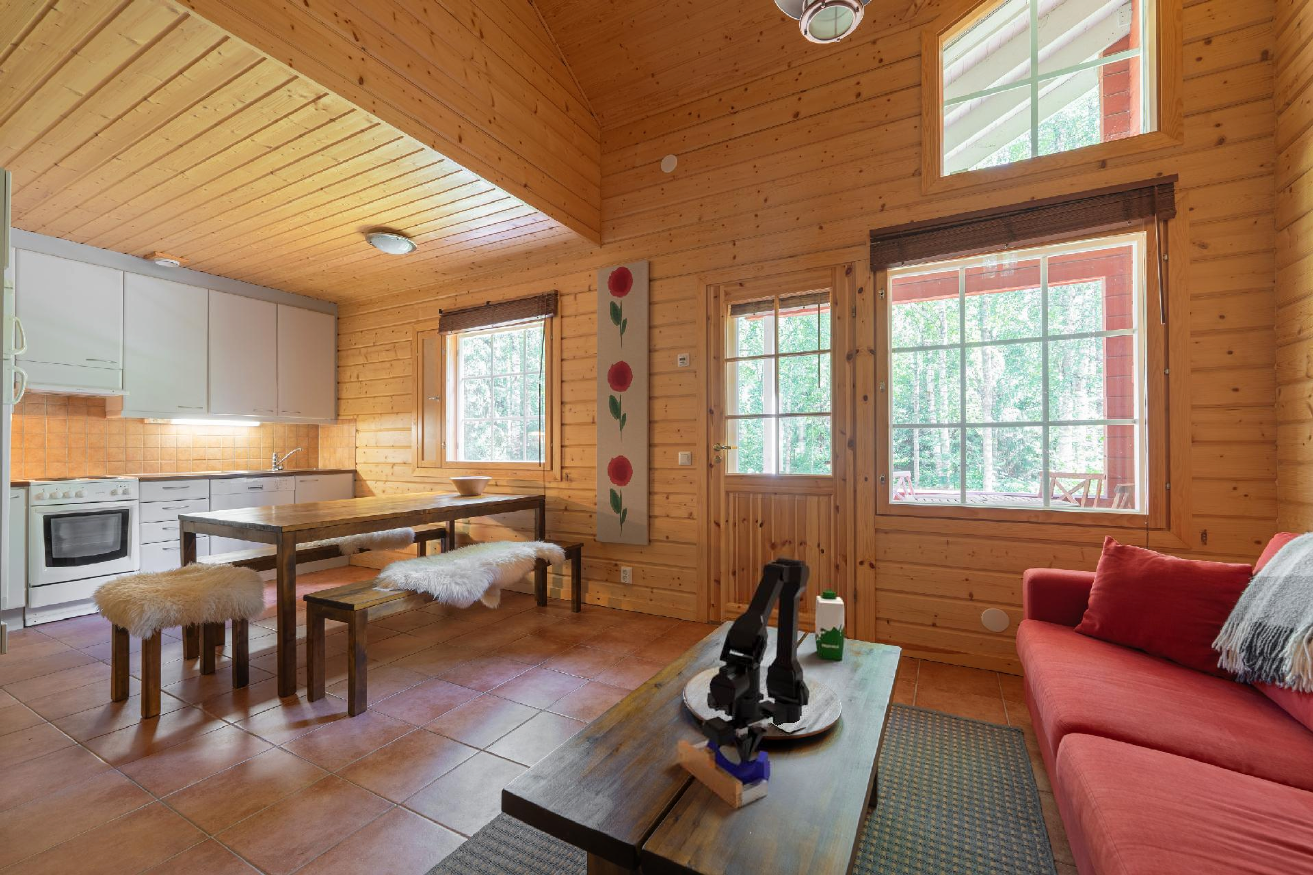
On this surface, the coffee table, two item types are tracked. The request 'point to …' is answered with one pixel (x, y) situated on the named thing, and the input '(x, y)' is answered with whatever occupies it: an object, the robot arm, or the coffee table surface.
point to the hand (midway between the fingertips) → (744, 762)
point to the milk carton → (829, 626)
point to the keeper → (718, 775)
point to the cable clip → (743, 765)
